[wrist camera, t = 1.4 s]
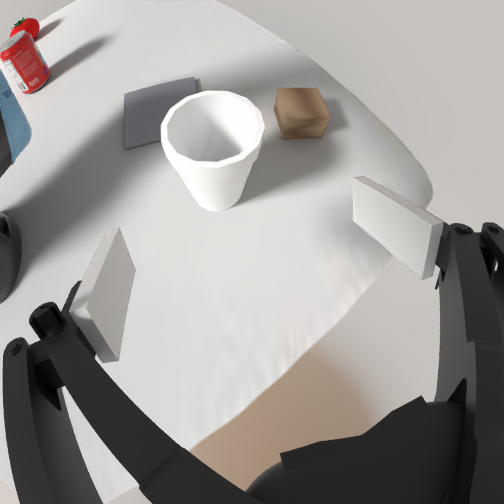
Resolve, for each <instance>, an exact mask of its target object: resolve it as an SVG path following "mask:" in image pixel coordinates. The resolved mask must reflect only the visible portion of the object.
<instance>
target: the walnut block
mask: <svg viewBox="0 0 504 504" xmlns="http://www.w3.org/2000/svg"><path fill="white" fill-rule="evenodd" d="M274 111H275V114H276V118H277V121H278V125H279V128H280V132H281V135H282V139H297V138H321V137H322V135H323V133H324V131H325V128H326V126H327V124H328V122H329V119H330V115H329V113H328V110H327V108H326V106H325V103H324V101H323V99H322V96H321V94H320V92H319V90H318V88H278V92H277V97H276V102H275V108H274Z"/></svg>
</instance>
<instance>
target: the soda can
mask: <svg viewBox="0 0 504 504" xmlns="http://www.w3.org/2000/svg"><path fill="white" fill-rule="evenodd" d="M0 59H1V61H2V62H3V64H4V66H5V67H6V69H7V70H8V72H9V73H10V75H11V76H12V78H13V79H14V81H15V82H16V84H17V85H18V86H19V88H20V89H21V91H22V92H23V93H24V94H30V93H32V92H35V91H37V90H38V89H40V88H41V87H42V86H43V85H44V84H45V82H46V81H47V80H48V78H49V76H50V70H49V68H48V66H47V64H46V62H45V60H44V59H43V57H42V55H41V53H40V51H39V49H38V47H37V45H36V44H35V42H34V40H33V38H32V36H31V34H30V33H27V32H25V30H22V31H20V32H18V33H16V34H15V35H13V36H12V37H11V38H9V39H8V40H7V41H6V42H5V43H4V44H3V45H2V46H1V48H0Z"/></svg>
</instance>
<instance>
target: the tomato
mask: <svg viewBox="0 0 504 504" xmlns="http://www.w3.org/2000/svg"><path fill="white" fill-rule="evenodd" d="M23 19H24V18H23ZM23 19H22V20H21V21H18V23H16V24H14V25H16V26H15V27H14V29H13V30H12V32H11V34H10V38H11V37H12V36H13V35H15V34H16V33H18V32H20V31H22V30H25V32H27V33H30V34H31V36H32V38H33V40H34V38H35V37H36V36H37V34H38V32H39V23H38V21H37V20H36V19H33V18H28V19H25V20H23Z"/></svg>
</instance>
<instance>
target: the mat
mask: <svg viewBox="0 0 504 504" xmlns="http://www.w3.org/2000/svg"><path fill="white" fill-rule="evenodd" d="M194 94H197V89H196V84H195V80H194V77H191V78H186V79H181V80H176V81H172V82H167V83H163V84H159V85H155V86H151V87H147V88H143V89H140V90H136V91H133V92H129V93H126V94H125V97H124V148H125V149H126V150H127V149H131V148H134V147H138V146H141V145H145V144H149V143H152V142H156V141H160V140H161V124H162V122H163V120H164V118H165V116H166V115H167V113H168V111H169V110H170V108H172V107H173V106H174V105H176V104H177V103H178V102H180V101H181V100H183V99H184V98H185V97H187V96H190V95H194Z"/></svg>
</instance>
